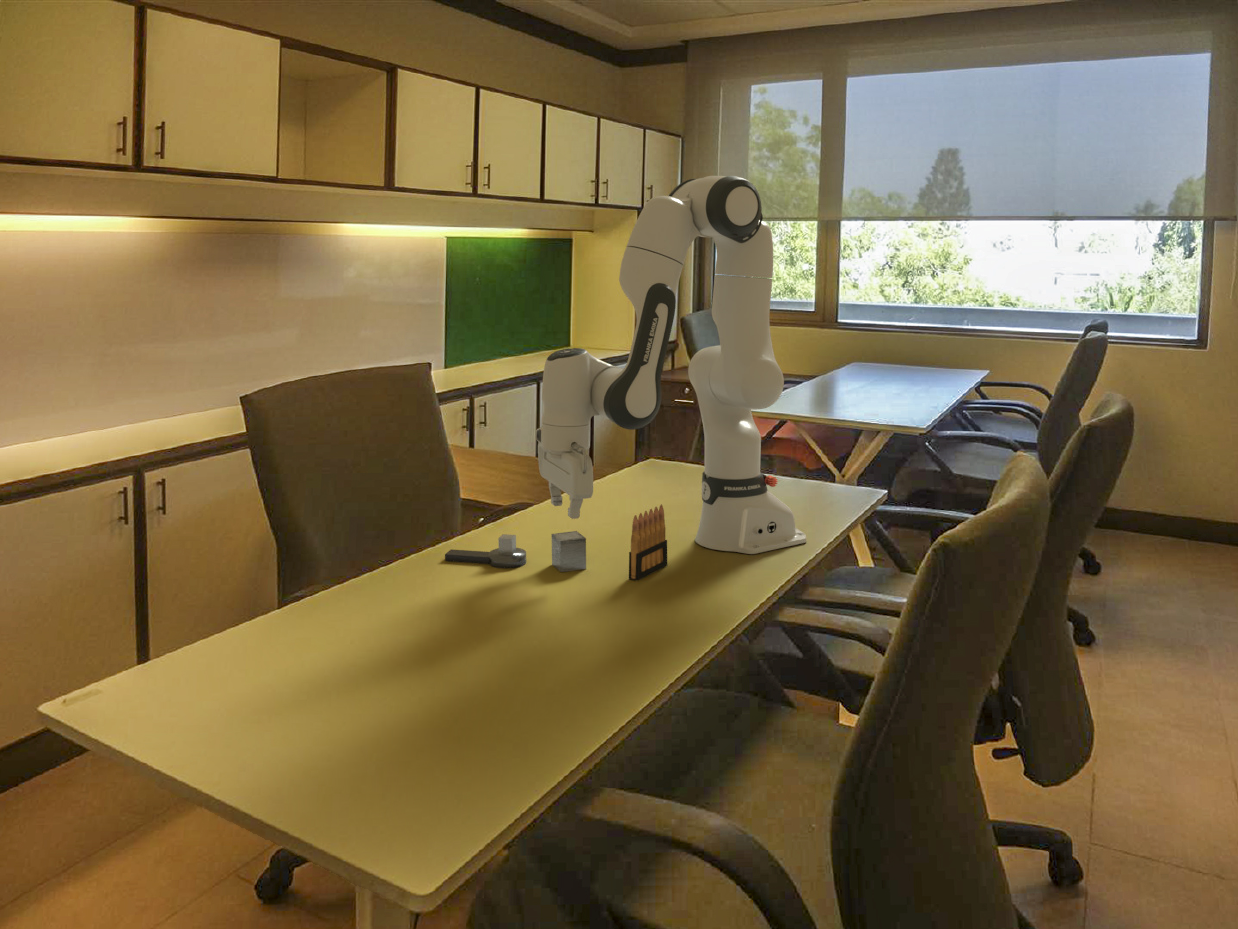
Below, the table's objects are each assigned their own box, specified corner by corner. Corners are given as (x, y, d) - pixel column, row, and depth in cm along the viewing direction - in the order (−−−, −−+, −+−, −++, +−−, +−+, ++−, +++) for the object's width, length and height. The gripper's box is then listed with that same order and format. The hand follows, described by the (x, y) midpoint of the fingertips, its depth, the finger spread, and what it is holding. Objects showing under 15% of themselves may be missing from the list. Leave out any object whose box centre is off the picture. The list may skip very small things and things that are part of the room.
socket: (576, 561, 205) (576, 531, 203) (586, 569, 200) (585, 538, 199) (552, 564, 203) (551, 533, 201) (560, 572, 198) (560, 541, 197)
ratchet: (530, 558, 207) (530, 532, 205) (520, 569, 200) (519, 543, 199) (454, 553, 210) (453, 527, 209) (441, 564, 203) (440, 538, 202)
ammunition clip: (636, 581, 193) (637, 517, 191) (628, 579, 194) (628, 515, 192) (667, 565, 202) (668, 504, 199) (659, 563, 203) (659, 502, 200)
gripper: (602, 448, 188) (601, 524, 191) (563, 427, 206) (563, 497, 209) (568, 450, 185) (567, 527, 188) (532, 429, 204) (532, 499, 207)
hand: (565, 511), depth 199 cm, fingers open, 8 cm apart
